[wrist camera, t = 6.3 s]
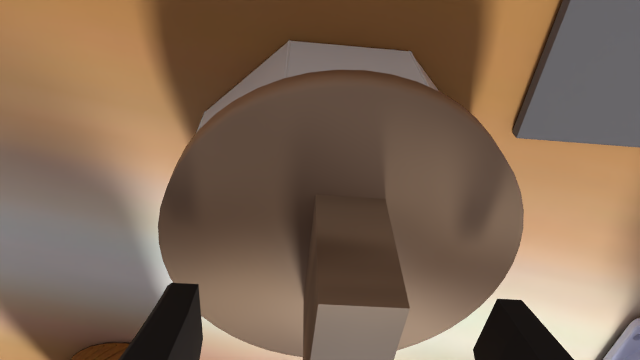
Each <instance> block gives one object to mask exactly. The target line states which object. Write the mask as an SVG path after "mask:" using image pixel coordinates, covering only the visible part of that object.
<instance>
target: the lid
mask: <svg viewBox="0 0 640 360" xmlns="http://www.w3.org/2000/svg"><path fill="white" fill-rule="evenodd" d="M523 213H524V210H523V204H522V197H521V192H520V189H519V186H518V183H517V180H516V177H515V175H514V172H513V171H512V169H511V167H510V166H509V164H508V162H507V160H506V159H505V157H504V155H503V154H502V152H501V151H500V149H499V147H498V146H497V144H496V143H495V141H494V140H493V138H492V137H491V135H490V134H489V133H488V131H487V130H486V129H485V128H484V127H483V126H482V124H481V123H480V122H479V121H478V120H477V119H476V118H475V117H474V116H473V115H472V114H471V113H470V112H468V111H467V110H466V109H465V108H464V107H463V106H461V105H460V104H459V103H457V102H456V101H454V100H452V99H451V98H449V97H448V96H446V95H444V94H443V93H441V92H440V91H437V90H435V89H433V88H430V87H428V86H426V85H424V84H421V83H419V82H417V81H413V80H410V79H406V78H403V77H399V76H396V75H393V74H387V73H380V72H373V71H367V70H328V71H319V72H309V73H305V74H301V75H296V76H292V77H288V78H283V79H280V80H278V81H275V82H272V83H270V84H267V85H264V86H261V87H259V88H257V89H255V90H253V91H251V92H249V93H247V94H245V95H243V96H241V97H240V98H238V99H236V100H234V101H233V102H231V103H230V104H229V105H227V106H226V107H224V108H223V109H222V110H220V111H219V112H217V113H216V114H215V115H214V116H213V117H212V118H211V119H210V120H209V121H208V122H207V123H206V124H204V125H203V126H202V127H201V128H200V129H199V130H198V132H197V133H196V134H195V136H194V137H193V138H192V140H191V141H190V142H189V144H188V145H187V146H186V148H185V149H184V151H183V153H182V155H181V157H180V159H179V161H178V163H177V165H176V167H175V169H174V171H173V174H172V176H171V179H170V181H169V183H168V186H167V188H166V191H165V195H164V198H163V201H162V204H161V208H160V215H159V222H158V233H159V245H160V250H161V254H162V258H163V262H164V264H165V267H166V269H167V271H168V274H169V276H170V278H171V280H172V281H173V283H187V284H199V296H200V309H201V316H202V317H204V318H205V319H207V320H208V321H209V322H211V323H212V324H213V325H215V326H216V327H218V328H219V329H221V330H223V331H225V332H226V333H228V334H230V335H231V336H233V337H236V338H238V339H240V340H242V341H244V342H247V343H249V344H252V345H254V346H257V347H260V348H263V349H266V350H270V351H274V352H278V353H282V354H286V355H293V356H299V357H303V360H394V357H395V354H396V351H397V350H400V349H403V348H406V347H409V346H412V345H415V344H418V343H420V342H423V341H425V340H427V339H430V338H432V337H434V336H436V335H438V334H440V333H442V332H444V331H446V330H448V329H449V328H451V327H453V326H454V325H456V324H457V323H459V322H460V321H462V320H463V319H465V318H466V317H468V316H469V315H470V314H471V313H472V312H474V311H475V310H476V309H477V308H479V307H480V306H481V305H482V304H483V303H484V302H485V301H486V300H487V299H488V298H489V297H490V296H491V295H492V294H493V293H494V291H495V290H496V289H497V287H498V286H499V285H500V283H501V282H502V281H503V279H504V278H505V276H506V274H507V273H508V271H509V269H510V267H511V266H512V264H513V262H514V259H515V256H516V254H517V251H518V249H519V246H520V241H521V236H522V231H523Z"/></svg>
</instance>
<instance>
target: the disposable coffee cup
mask: <svg viewBox="0 0 640 360" xmlns="http://www.w3.org/2000/svg"><path fill="white" fill-rule="evenodd" d="M128 346H129V344H128V343H108V344H100V345H96V346H91V347H89V348H86V349H84V350H82V351H80V352H78V353H77V354H75V355H74V356H73V357H72V359H71V360H119V358H120V357H121V355H122V354H123V353H124V351H125V350H126V349H127V347H128Z"/></svg>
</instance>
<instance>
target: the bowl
mask: <svg viewBox="0 0 640 360" xmlns="http://www.w3.org/2000/svg"><path fill="white" fill-rule="evenodd" d="M328 70H367V71H373V72H380V73H387V74H393V75H396V76H399V77H403V78H406V79H410V80H413V81H417V82H419V83H421V84H424V85H426V86H428V87H430V88H433V89H435V90H437V91H439V90H438V89H437V88H436V86H435V85H434V84H433V82H432V81H431V79H430V78H429V77H428V75H427V74H426V73H425V71H424V70H423V68H422V67H421V66H420V64H419V63H418V62H417V60H416V59H415V57H414V56H413V54H412V52H411V51H400V50H389V49H377V48H366V47H355V46H344V45H333V44H321V43H310V42H299V41H291V40H289V41H288V42H287V43H286V44H285V45H284V46H282V47H281V48H280V49H279V50H278V51H276V52H275V53H274V54H273V55H272V56H271V57H269V58H268V59H267V60H266V61H265V62H263V63H262V64H261V65H260V66H259V67H258V68H256V69H255V70H254V71H253V72H252V73H250V74H249V75H248V76H247V77H246V78H245V79H243V80H242V81H241V82H240V83H239V84H237V85H236V86H235V87H234V88H233V89H232V90H230V91H229V92H228V93H227V94H226V95H224V96H223V97H222V98H221V99H220V100H219V101H217V102H216V103H215V104H214V105H213V106H211V107H210V108H209V109H208V110H207V111H205V112H204V114H203V117H202V119H201V122H200V125H199V127H198V130H199V129H200V128H201V127H202V126H203V125H204V124H206V123H207V122H208V121H209V120H210V119H211V118H212V117H213V116H214V115H215V114H216V113H217V112H219V111H220V110H222V109H223V108H224V107H226V106H227V105H229V104H230V103H231V102H233V101H234V100H236V99H238V98H240V97H241V96H243V95H245V94H247V93H249V92H251V91H253V90H255V89H257V88H259V87H261V86H264V85H267V84H270V83H272V82H275V81H278V80H280V79H283V78H288V77H292V76H296V75H301V74H305V73H309V72H319V71H328ZM198 130H197V132H198ZM197 132H196V133H197Z"/></svg>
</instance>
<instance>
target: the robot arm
mask: <svg viewBox="0 0 640 360" xmlns="http://www.w3.org/2000/svg"><path fill="white" fill-rule="evenodd" d="M202 340H203V335H202V322H201V309H200V296H199V284H187V283H171V284H170V285H168V286H167V288H166V289H165V291H164V293H163V295H162V296H161V298H160V300H159V301H158V303H157V305H156V306H155V308H154V309H153V311H152V312H151V314H150V315H149V317H148V319H147V320H146V322H145V323H144V324H143V326H142V327H141V329H140V330H139V332H138V333H137V335H136V336H135V338H134V339H133V340H132V342H131V343H130V344H129V346H128V347H127V349H126V350H125V351H124V353H123V354H122V355H121V357H120V358H119V360H199V359H200V353H201V347H202ZM473 352H474V357H475V360H574V359H573V358H572V357H571V356H570V355H569V354H568V352H567V351H566V350H565V349H564V348H563V347H562V346H561V344H560V343H559V342H558V341H557V340H556V339H555V338H554V337H553V335H552V334H551V333H550V332H549V331H548V330H547V329H546V327H545V326H544V325H543V324H542V323H541V322H540V320H539V319H538V318H537V317H536V316H535V315H534V314H533V312H532V311H531V310H530V309H529V308H528V307H527V306H526V305H525V304H524V302H523V301H522V300H510V299H497V301H496V303H495V305H494V307H493V309H492V311H491V313H490V315H489V317H488V319H487V322H486V324H485V326H484V328H483V330H482V332H481V334H480V336H479V338H478V340H477V343H476V345H475V347H474V349H473ZM603 360H640V318H637V319H635V320H633V321H632V322H631V323H630V324H629V325H628V327H627V328H626V329H625V331H624V332H623V333H622V335H621V336H620V337H619V339H618V340H617V341H616V343H615V344H614V345H613V347H612V348H611V349H610V351H609V352H608V353H607V354H606V356H605V357H604V358H603Z"/></svg>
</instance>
